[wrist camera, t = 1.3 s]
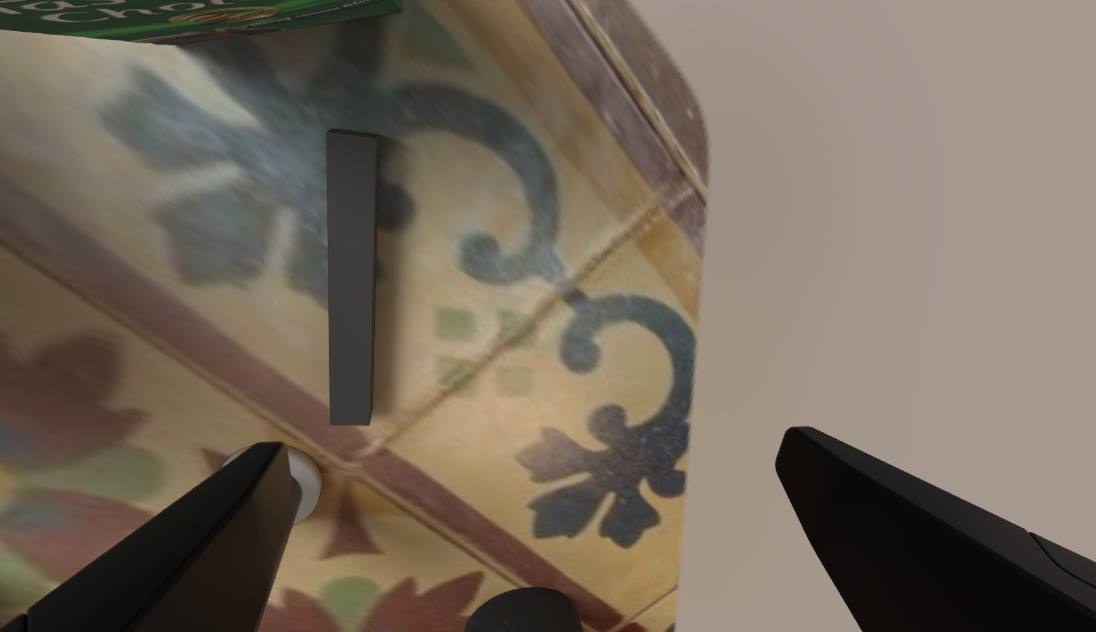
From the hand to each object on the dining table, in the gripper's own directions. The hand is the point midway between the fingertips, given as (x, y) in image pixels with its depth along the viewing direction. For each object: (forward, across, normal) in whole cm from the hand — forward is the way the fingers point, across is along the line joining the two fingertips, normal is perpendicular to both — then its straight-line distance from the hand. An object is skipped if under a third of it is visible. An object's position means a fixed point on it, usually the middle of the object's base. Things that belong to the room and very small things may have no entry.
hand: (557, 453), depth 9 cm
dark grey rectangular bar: (+14, +6, +2) cm, 15 cm away
